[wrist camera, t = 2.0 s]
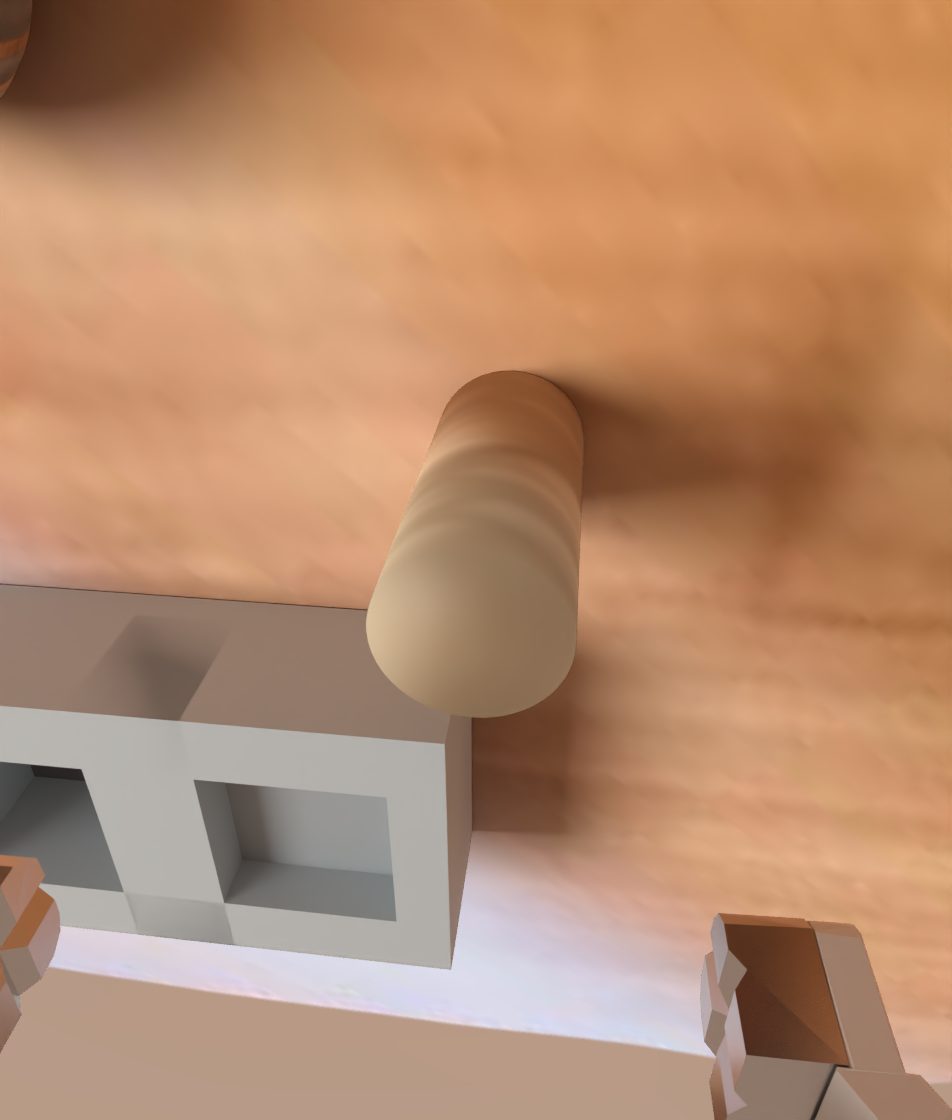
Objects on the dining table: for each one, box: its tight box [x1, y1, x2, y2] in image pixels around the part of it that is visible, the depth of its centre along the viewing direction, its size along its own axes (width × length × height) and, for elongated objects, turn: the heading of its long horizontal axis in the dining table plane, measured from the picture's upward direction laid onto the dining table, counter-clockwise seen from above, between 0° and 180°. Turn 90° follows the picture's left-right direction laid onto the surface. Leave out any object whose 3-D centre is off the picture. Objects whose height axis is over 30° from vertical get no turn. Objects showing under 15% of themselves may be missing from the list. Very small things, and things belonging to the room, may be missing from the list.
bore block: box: [0, 584, 472, 970], centre depth 26 cm, size 16×9×5 cm, turn 90°
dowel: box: [366, 371, 584, 718], centre depth 18 cm, size 4×4×8 cm
